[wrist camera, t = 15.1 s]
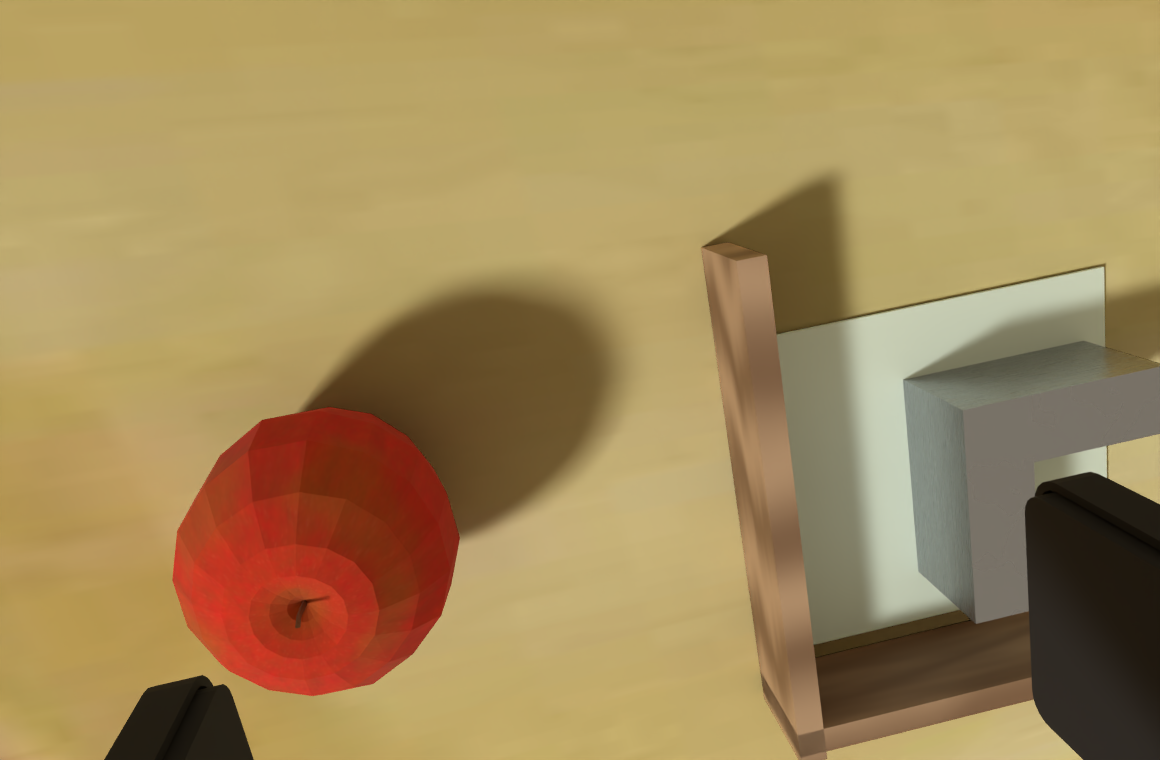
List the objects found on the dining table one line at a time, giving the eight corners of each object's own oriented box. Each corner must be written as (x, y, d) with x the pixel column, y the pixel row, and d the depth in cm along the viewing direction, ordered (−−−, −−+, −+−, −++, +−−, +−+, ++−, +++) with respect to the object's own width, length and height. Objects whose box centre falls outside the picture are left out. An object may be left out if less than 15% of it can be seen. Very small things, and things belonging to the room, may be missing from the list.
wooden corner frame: (701, 247, 38) (736, 261, 33) (1128, 162, 39) (1221, 163, 34) (764, 698, 44) (801, 765, 39) (1130, 608, 45) (1210, 662, 41)
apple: (239, 361, 36) (142, 451, 25) (478, 403, 38) (486, 505, 27) (209, 580, 38) (107, 752, 27) (436, 609, 40) (427, 783, 29)
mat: (770, 335, 39) (772, 336, 39) (1101, 266, 40) (1103, 266, 40) (808, 643, 43) (809, 645, 43) (1105, 572, 45) (1108, 574, 44)
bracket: (902, 379, 40) (962, 410, 35) (1083, 340, 41) (1166, 365, 36) (918, 571, 43) (975, 624, 38) (1087, 531, 44) (1164, 578, 39)
